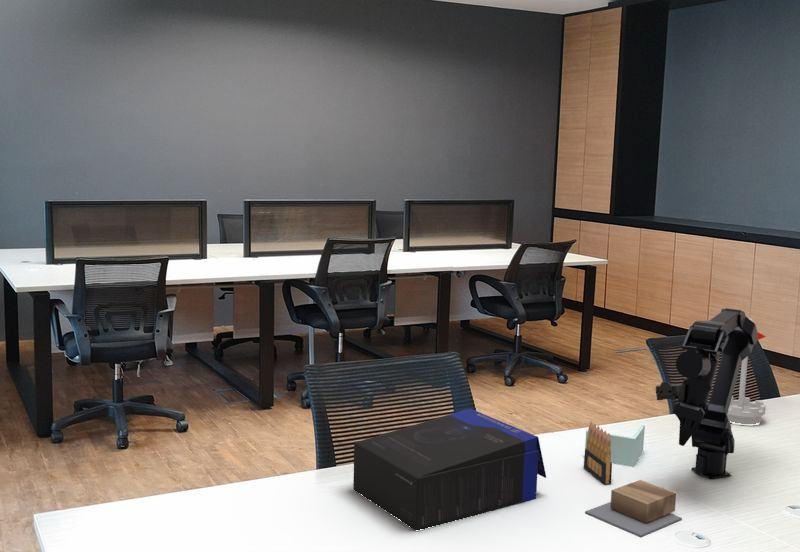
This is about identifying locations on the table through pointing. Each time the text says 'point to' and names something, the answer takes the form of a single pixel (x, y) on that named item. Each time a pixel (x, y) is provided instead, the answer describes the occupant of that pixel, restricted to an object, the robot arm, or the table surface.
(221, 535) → the table surface
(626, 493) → the tan wooden block
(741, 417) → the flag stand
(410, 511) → the headphone box
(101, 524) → the table surface
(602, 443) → the ammunition clip
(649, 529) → the mat
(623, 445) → the l-shaped corner panel
